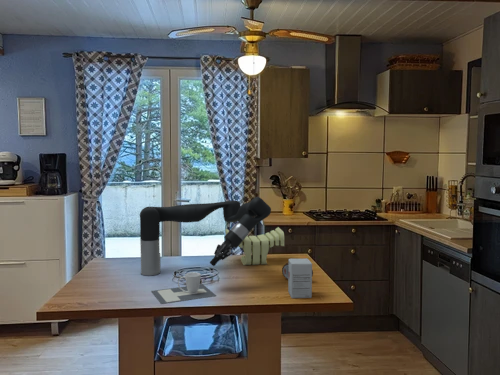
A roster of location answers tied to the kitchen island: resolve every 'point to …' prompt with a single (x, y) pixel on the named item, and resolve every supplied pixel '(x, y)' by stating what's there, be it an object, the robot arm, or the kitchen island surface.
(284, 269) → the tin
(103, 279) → the kitchen island surface
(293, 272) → the supplement box
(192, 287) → the cup
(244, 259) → the slatted curved stool
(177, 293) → the t mat
